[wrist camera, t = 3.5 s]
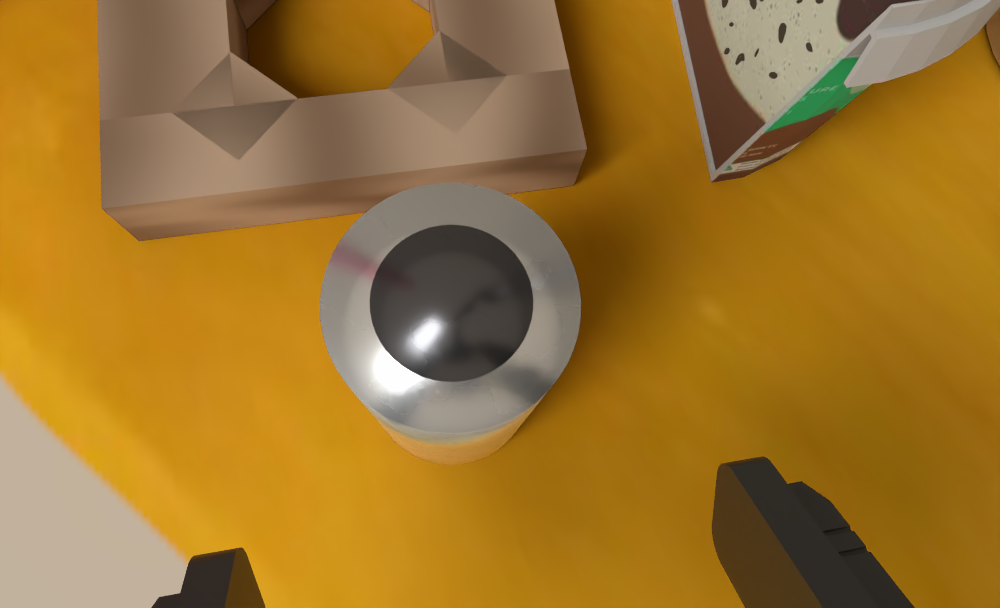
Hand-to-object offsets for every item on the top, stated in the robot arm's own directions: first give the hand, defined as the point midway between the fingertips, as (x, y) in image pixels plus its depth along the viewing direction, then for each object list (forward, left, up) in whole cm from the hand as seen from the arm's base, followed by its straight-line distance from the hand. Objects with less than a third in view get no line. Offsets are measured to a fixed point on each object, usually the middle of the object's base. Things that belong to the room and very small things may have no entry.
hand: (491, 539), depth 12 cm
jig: (+2, -16, -9) cm, 19 cm away
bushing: (0, -4, -9) cm, 10 cm away
